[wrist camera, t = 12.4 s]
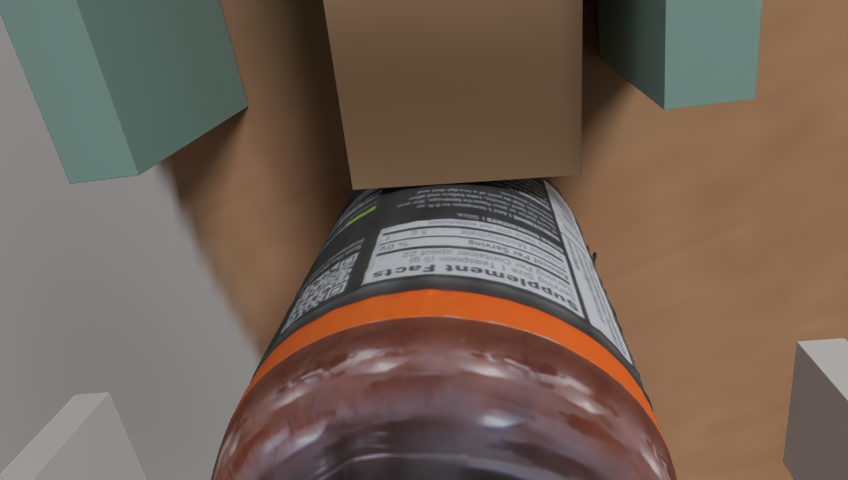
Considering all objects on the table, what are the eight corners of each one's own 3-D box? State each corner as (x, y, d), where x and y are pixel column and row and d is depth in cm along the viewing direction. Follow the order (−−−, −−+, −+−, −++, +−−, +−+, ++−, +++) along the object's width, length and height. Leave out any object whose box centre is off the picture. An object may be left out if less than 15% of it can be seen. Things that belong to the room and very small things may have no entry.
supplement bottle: (517, 374, 17) (579, 1033, 6) (313, 300, 16) (30, 884, 6) (623, 185, 14) (1003, 773, 4) (386, 91, 14) (113, 479, 3)
